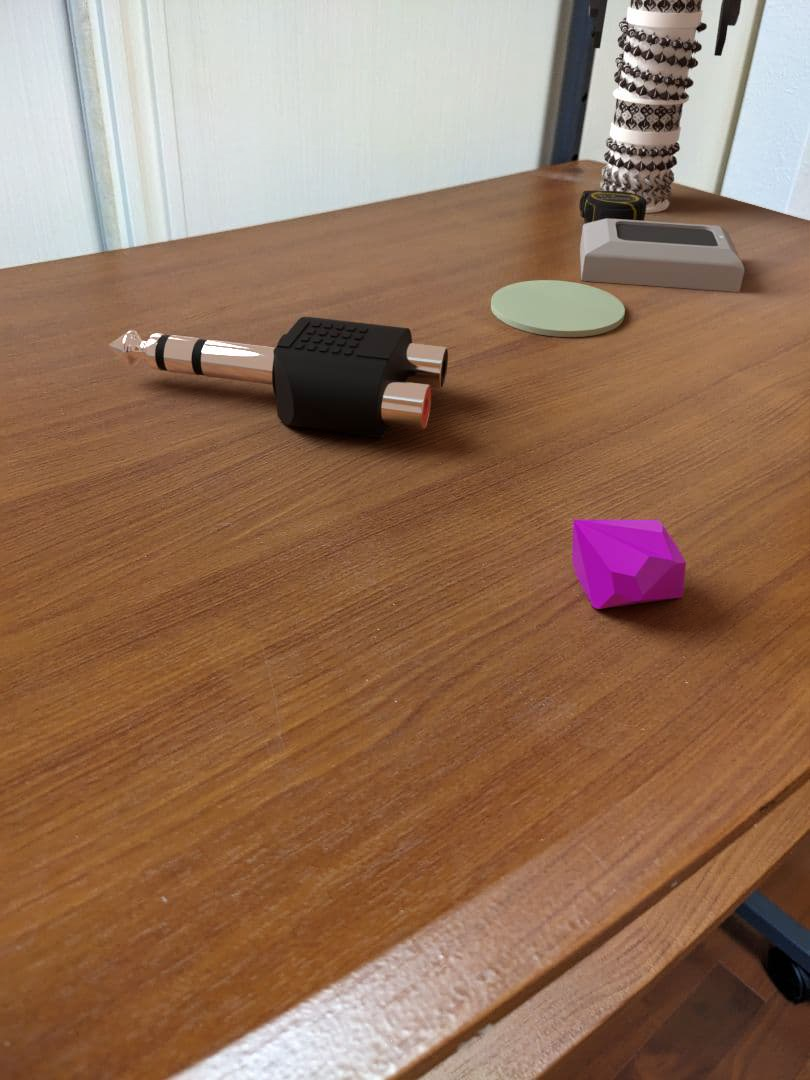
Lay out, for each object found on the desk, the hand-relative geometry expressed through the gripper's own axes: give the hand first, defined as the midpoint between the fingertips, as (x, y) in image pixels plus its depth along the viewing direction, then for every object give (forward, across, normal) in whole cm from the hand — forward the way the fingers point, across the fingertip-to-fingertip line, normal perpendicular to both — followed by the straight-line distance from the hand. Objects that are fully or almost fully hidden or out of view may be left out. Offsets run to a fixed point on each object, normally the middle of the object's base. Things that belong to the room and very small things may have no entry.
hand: (657, 44), depth 104 cm
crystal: (+68, -1, +44) cm, 81 cm away
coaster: (+40, +6, +16) cm, 44 cm away
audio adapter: (+56, +25, +33) cm, 70 cm away
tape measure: (+22, +2, -2) cm, 22 cm away
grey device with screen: (+30, -3, +7) cm, 31 cm away
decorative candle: (+14, 0, -10) cm, 17 cm away
